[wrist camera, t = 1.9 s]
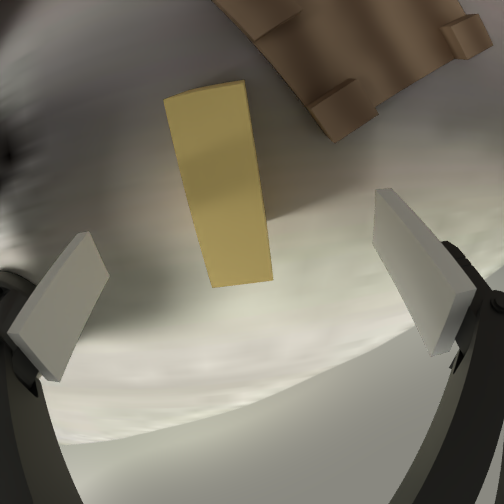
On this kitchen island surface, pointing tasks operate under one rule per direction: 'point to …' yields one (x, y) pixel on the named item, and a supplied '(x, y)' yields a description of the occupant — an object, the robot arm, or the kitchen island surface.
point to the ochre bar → (222, 181)
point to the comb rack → (355, 49)
